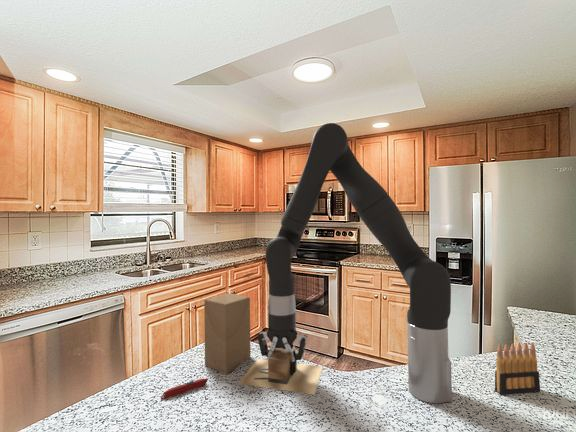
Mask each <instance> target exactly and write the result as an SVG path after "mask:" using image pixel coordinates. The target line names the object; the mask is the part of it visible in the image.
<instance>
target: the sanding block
mask: <svg viewBox="0 0 576 432" xmlns="http://www.w3.org/2000/svg"><path fill="white" fill-rule="evenodd" d="M267 360H268V382H273V383H281V384H287V383H288V381H289V379H290V377H291V375H290V361H291V360H290V355H289V354H288V353H287V351H286V349H283V348H276V350H275V351H274V353H272V354H271V355H270V357H269V358H268V357H267Z"/></svg>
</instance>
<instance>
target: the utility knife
mask: <svg viewBox="0 0 576 432" xmlns="http://www.w3.org/2000/svg"><path fill="white" fill-rule="evenodd" d="M208 380H209V378H200V379H198V380H191V381H189V382H187V383H186V382H185V383H184V384H180V385H177V386H174V387H171V388H169V389H167V390H166V391H164V392H163V393H162V395H161V397H160V400H166V399H168V398H171V397H175V396H178V395H182V394H185V393H187V392H190V391H193V390H197V389H199V388H203V387H205V386H206V385H207V383H208Z"/></svg>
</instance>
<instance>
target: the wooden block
mask: <svg viewBox="0 0 576 432" xmlns="http://www.w3.org/2000/svg"><path fill="white" fill-rule="evenodd" d="M203 303H204V304H203V306H204V307H203V308H204V309H203V311H204V318H203V319H204V324H203V325H204V326H203V327H204V365H205V366H206V367H209V368H210V369H212V370H215V371H217V372H219V373H220V374H221V373H222V374H224V375H229V374H230V373H232V372H234V371H236V369H237V368H238V367H239V366H240V365H241V363H243V362H244V361H247V360H249V359H250V358H251V299H250V297H249V296H245V295H240V294H235V293H224V294H220V295H217V296H212V297H208V298H205V299H204V301H203Z"/></svg>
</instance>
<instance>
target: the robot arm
mask: <svg viewBox="0 0 576 432" xmlns="http://www.w3.org/2000/svg"><path fill="white" fill-rule="evenodd" d="M309 149H310V150H309V152H308V156H307V159H306V162H305V165H304V168H303V170H302V173H301V176H300V177H299V180H298V182H297V184H296V187H295V189H294V191H293V193H292V196H291V198H290V200H289V202H288V204H287V206H286V208H285V211H284V213H283V215H282V217H281V220H280V225H281V226H280V228H279V230H278V231H279V232H278V234H277V236H276V237H275V238H273V239H271V240H269V242H268V243H267V245H266V248H265V263H266V269H267V275H268V297H267V298H268V299H267V317H268V318H267V322H268V323H267V324H268V325H267V326H268V329H267V331H263V330H262V331H260V332H258V334H257V336H256V337H257V341H258V346H259V350H260V354H261V356H263V357H266V358H267V359H268V358H269V357H270V355H271V354H272V353H274V351H275V350H276V348H283V349H286V351H287V353H288V354H289V355H290V360H291V361H290V375H293V374H294V373H295V372H296V369H297V364H298V363H297V361H301V360H302V358H303V357H304V353H305V350H306V345H307V340H308V335H306V334H303V335H300V334H298V332H297V329H296V328H297V327H296V325H297V323H296V322H297V321H296V319H297V318H296V297H295V277H294V274H293V273H292V262H291V261H292V259H293V258H294V256H295V255H296V253H297V251H298V248H299V246H300V243H301V240H302V237H303V233H304V231H305V230H306V228H307V226H308V224H309V222H310V220H311V218H312V215H313V213H314V210H315V209H316V205H317V203H318V200H319V197H320V194H321V191H322V188H323V186H324V183H325V181H326V180H327V177H328V174H329V173H330V172H331V174H332V175H333V176H334V177H335V178H336V179H337V181H338V182H339V184H340V186H341V187H342V189H343V191H344V193H345V195H346V197H347V198H348V201H349V203H350V204H351V206H352V207H353V209H354V210H355V212H356V214H358V217H360V218H359V219H360V220H361V221H362V222H363V224H364V225H365V226H366V227H367V229H368V230H369V232H371V234H372V235H373V236H374V237H375V238H376V240H377V241H378V242H379V243H380V244H381V245H382V246H383V247H384V248H385V250H386V251H387V252H388V253H389V255H390V257H391V258H392V261H394V263H395V265H396V267H397V268H398V270H399V272H400V274H401V276H402V278H403V280H404V282H405V283H406V285H407V286H408V287H409V308H408V309H407V312H406V319H407V320H406V321H407V322H406V323H407V325H406V326H407V329H406V330H407V372H408V373H407V374H408V377H407V378H408V379H407V382H408V391H409V393H410V394H411V395H412V397H415V398H416V399H418V400H420V401H423V402H427V403H430V404H443V403H447V402H448V403H452V402H453V391H452V390H453V387H452V386H453V385H452V361H451V359H450V358H449V319H450V316H451V312H452V311H451V307H452V305H451V302H452V299H451V298H452V284H451V276H450V273H449V271H448V270H447V269H446V268H445V266H443V265H442V264H440V263H438V262H437V261H434V260H432V259H431V258H430V257H429V256H428V255H427V254H426V252H424V251H423V249H422V248H421V247H420V246H419V245H418V243H417V242H416V241H415V239H414V238H413V236H412V234H411V233H410V230H409V228H408V225H407V223H406V221H405V219H404V216H403V214H402V212H401V211H400V209H399V208H398V206H397V204H396V203H395V201H394V200H393V199H392V197H391V196H390V195H389V193H388V192H387V190H386V189H384V187H383V186H382V185H381V184H380V183H379V182H378V181H377V180H376V179H375V178H374V177H372V175H371V174H370V173H369V172H368V171H366V169H364V168H363V166H362V165H361V164H360V162H359V161H358V158H357V157H356V156H355V154H354V153H353V151H352V149H351V147H350V145H349V140H348V135H347V133H346V131H345V130H344V127H342V126H341V124H338V123H334V122H333V123H332V122H328V123H324V124H323V125H321V126H319V127H318V128H317V129H316V131H315V132H314V134H313V136H312V141H311V145H310V148H309ZM267 339H269V341H270V343H271V344H270V346H269V348H268V344H267ZM296 340H297V344H298V345H299V348H298V351H296V346H295V344H294V342H295V341H296Z"/></svg>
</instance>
